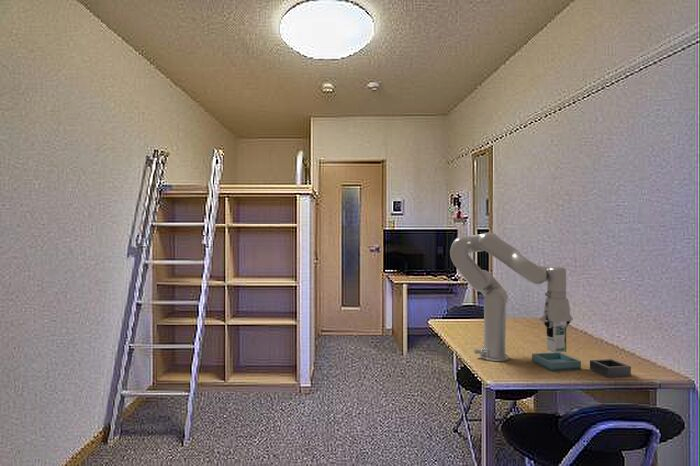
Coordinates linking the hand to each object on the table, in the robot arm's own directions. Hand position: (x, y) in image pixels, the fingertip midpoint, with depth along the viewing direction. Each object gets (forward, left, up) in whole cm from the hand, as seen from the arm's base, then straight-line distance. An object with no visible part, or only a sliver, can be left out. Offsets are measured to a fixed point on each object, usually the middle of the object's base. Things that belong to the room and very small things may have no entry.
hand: (556, 335), depth 198 cm
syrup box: (0, 0, -7) cm, 7 cm away
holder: (+16, -13, -13) cm, 24 cm away
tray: (0, 0, -13) cm, 13 cm away
